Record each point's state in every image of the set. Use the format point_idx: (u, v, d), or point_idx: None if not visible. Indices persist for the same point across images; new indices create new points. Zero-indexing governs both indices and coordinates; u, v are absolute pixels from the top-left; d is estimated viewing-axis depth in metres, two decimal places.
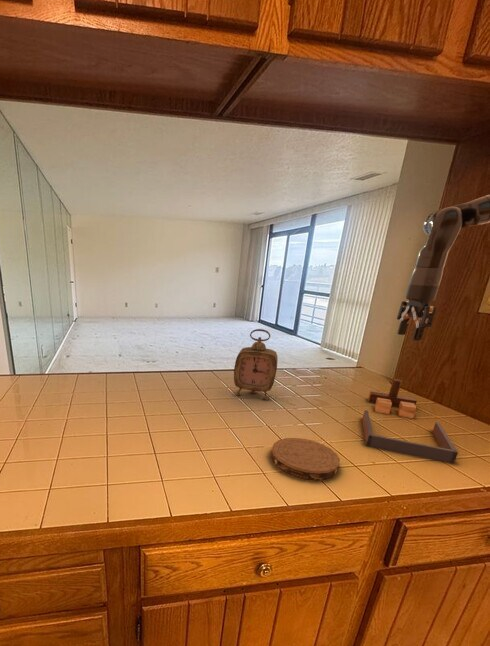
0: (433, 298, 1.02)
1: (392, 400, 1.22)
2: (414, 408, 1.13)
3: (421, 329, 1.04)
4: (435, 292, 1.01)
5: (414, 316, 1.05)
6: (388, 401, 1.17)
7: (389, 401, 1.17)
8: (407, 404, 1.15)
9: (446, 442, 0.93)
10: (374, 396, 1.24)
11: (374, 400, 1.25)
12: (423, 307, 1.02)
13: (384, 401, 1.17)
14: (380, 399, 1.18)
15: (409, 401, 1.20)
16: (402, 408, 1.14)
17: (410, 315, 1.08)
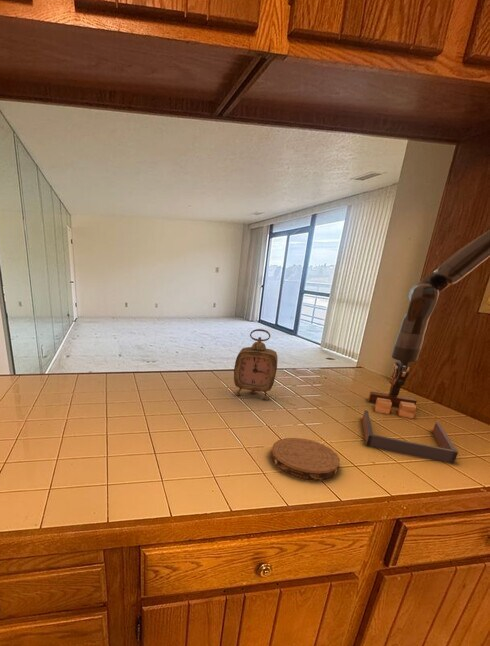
0: (412, 359, 1.14)
1: (392, 400, 1.22)
2: (414, 408, 1.13)
3: (397, 386, 1.19)
4: (414, 354, 1.13)
5: (394, 373, 1.19)
6: (388, 401, 1.17)
7: (389, 401, 1.17)
8: (407, 404, 1.15)
9: (446, 442, 0.93)
10: (374, 396, 1.24)
11: (374, 400, 1.25)
12: (401, 368, 1.16)
13: (384, 401, 1.17)
14: (380, 399, 1.18)
15: (409, 401, 1.20)
16: (402, 408, 1.14)
17: None
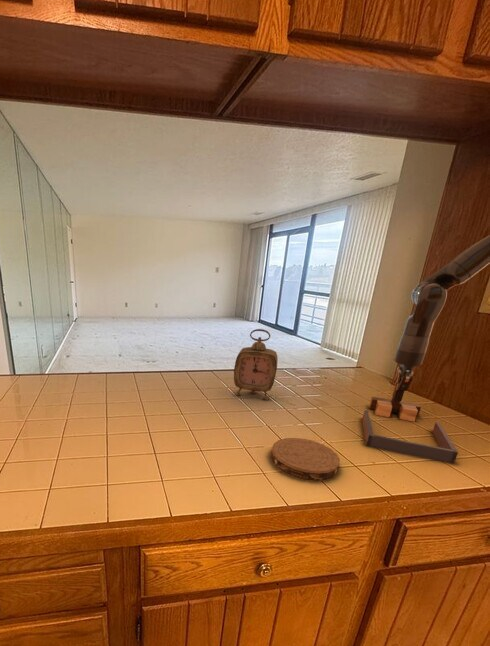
0: (417, 364, 1.08)
1: (395, 406, 1.16)
2: (415, 411, 1.10)
3: (400, 391, 1.13)
4: (419, 358, 1.07)
5: (397, 378, 1.13)
6: (388, 404, 1.15)
7: (390, 404, 1.15)
8: (408, 407, 1.12)
9: (446, 442, 0.93)
10: (376, 401, 1.18)
11: None
12: (404, 373, 1.09)
13: (384, 404, 1.14)
14: (380, 402, 1.16)
15: None
16: (403, 411, 1.12)
17: None
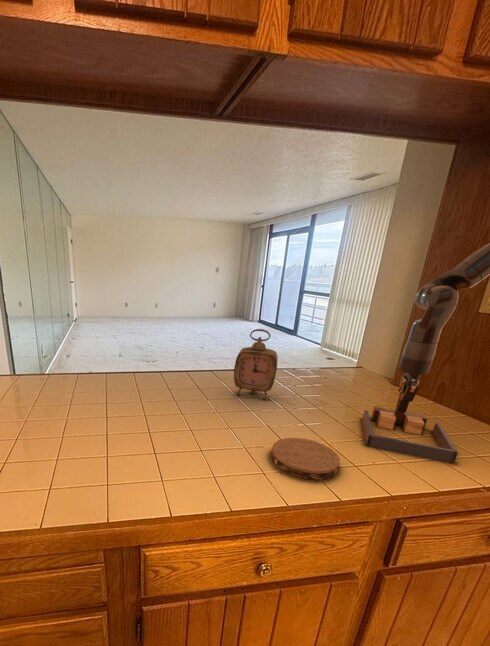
0: (423, 372, 0.99)
1: (399, 417, 1.08)
2: (422, 424, 1.02)
3: (404, 402, 1.05)
4: (425, 367, 0.99)
5: (402, 388, 1.04)
6: (392, 415, 1.06)
7: (393, 415, 1.06)
8: (414, 419, 1.04)
9: (446, 442, 0.93)
10: (378, 412, 1.10)
11: None
12: (410, 382, 1.01)
13: (387, 415, 1.06)
14: (383, 413, 1.08)
15: None
16: (408, 423, 1.04)
17: None
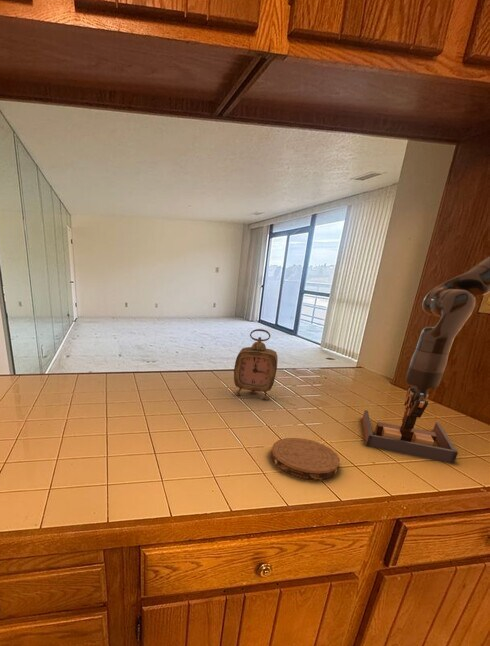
0: (433, 386, 0.89)
1: (405, 434, 0.97)
2: (431, 442, 0.92)
3: (412, 418, 0.94)
4: (435, 379, 0.89)
5: (408, 402, 0.94)
6: (397, 432, 0.96)
7: (398, 432, 0.96)
8: (422, 436, 0.94)
9: (446, 442, 0.93)
10: (382, 428, 0.99)
11: None
12: (418, 396, 0.91)
13: (392, 432, 0.96)
14: (387, 429, 0.98)
15: None
16: (416, 442, 0.93)
17: None
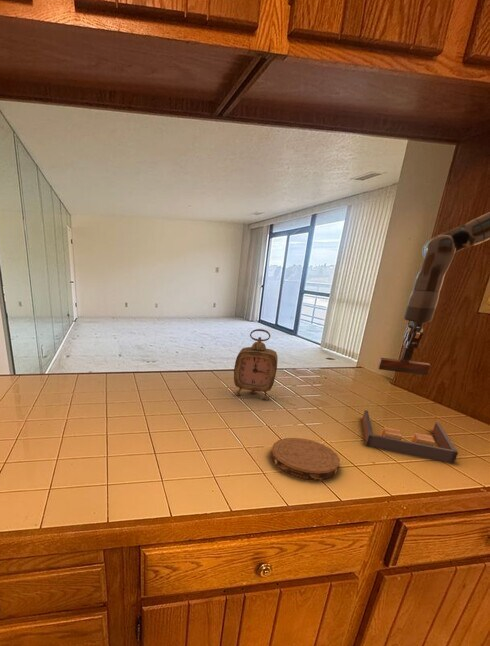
0: (427, 319, 1.07)
1: (404, 365, 1.15)
2: (432, 443, 0.92)
3: (409, 350, 1.12)
4: (429, 314, 1.07)
5: (407, 336, 1.12)
6: (397, 432, 0.96)
7: (399, 432, 0.96)
8: (423, 437, 0.94)
9: (446, 442, 0.93)
10: (384, 361, 1.17)
11: (385, 366, 1.18)
12: (414, 329, 1.09)
13: (392, 432, 0.96)
14: (388, 429, 0.97)
15: (422, 366, 1.13)
16: (417, 442, 0.93)
17: None
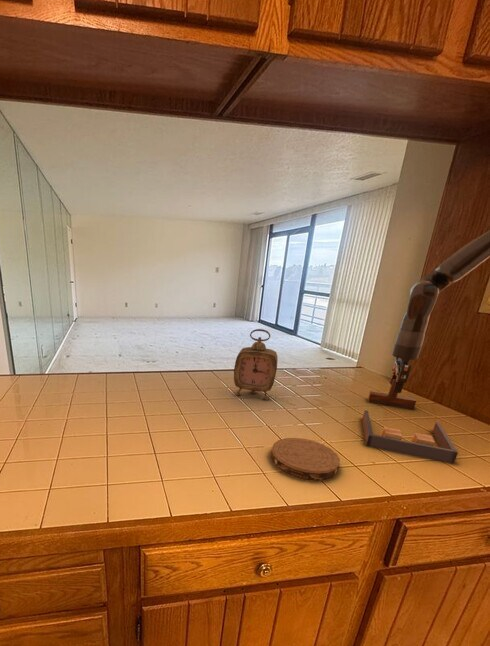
0: (413, 357, 1.14)
1: (392, 400, 1.22)
2: (432, 443, 0.92)
3: (400, 383, 1.16)
4: (415, 352, 1.13)
5: (396, 371, 1.18)
6: (397, 432, 0.96)
7: (399, 432, 0.96)
8: (423, 437, 0.94)
9: (446, 442, 0.93)
10: (373, 396, 1.24)
11: (374, 400, 1.25)
12: None
13: (392, 432, 0.96)
14: (388, 429, 0.97)
15: (409, 401, 1.20)
16: (417, 442, 0.93)
17: None
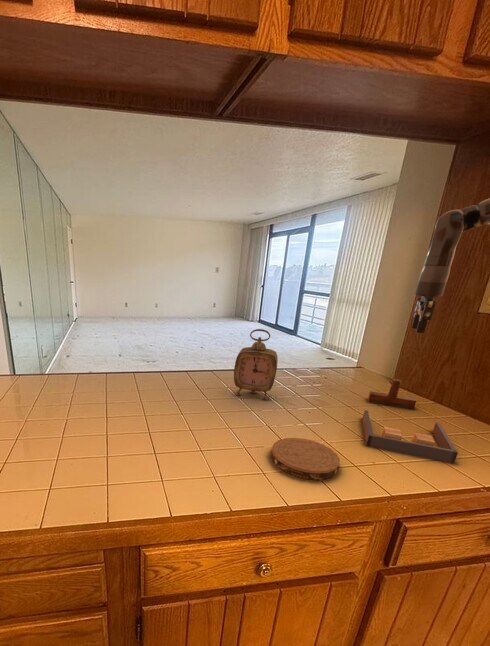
0: (438, 294, 1.10)
1: (392, 400, 1.22)
2: (432, 443, 0.92)
3: (423, 322, 1.13)
4: (440, 288, 1.09)
5: (419, 310, 1.14)
6: (397, 432, 0.96)
7: (399, 432, 0.96)
8: (423, 437, 0.94)
9: (446, 442, 0.93)
10: (373, 396, 1.24)
11: (374, 400, 1.25)
12: None
13: (392, 432, 0.96)
14: (388, 429, 0.97)
15: (409, 401, 1.20)
16: (417, 442, 0.93)
17: (419, 310, 1.16)
